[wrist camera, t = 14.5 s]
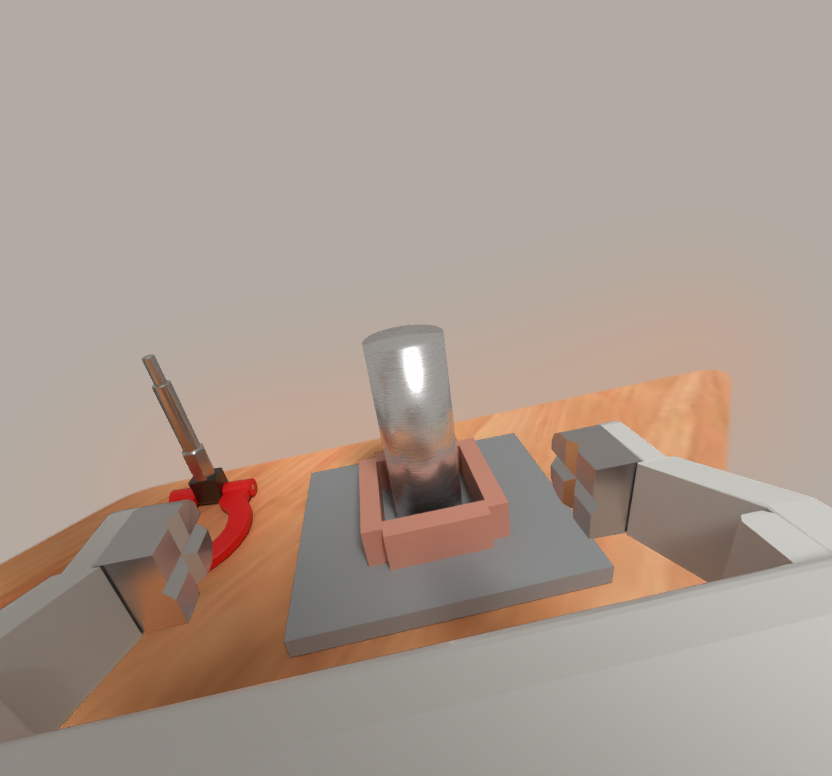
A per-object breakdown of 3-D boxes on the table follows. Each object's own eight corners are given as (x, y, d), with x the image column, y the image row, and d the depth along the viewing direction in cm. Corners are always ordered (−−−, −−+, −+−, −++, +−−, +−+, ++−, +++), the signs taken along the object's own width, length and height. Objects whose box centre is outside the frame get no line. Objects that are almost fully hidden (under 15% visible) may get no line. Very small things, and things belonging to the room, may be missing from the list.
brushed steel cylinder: (400, 541, 24) (362, 357, 19) (394, 495, 28) (361, 333, 23) (471, 527, 24) (451, 341, 19) (454, 483, 28) (435, 320, 23)
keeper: (290, 657, 20) (269, 607, 18) (314, 485, 32) (303, 447, 31) (612, 582, 21) (617, 529, 20) (514, 445, 34) (512, 406, 32)
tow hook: (231, 584, 25) (270, 486, 33) (138, 408, 19) (213, 342, 27) (100, 604, 25) (171, 501, 33) (-32, 435, 19) (94, 361, 27)
